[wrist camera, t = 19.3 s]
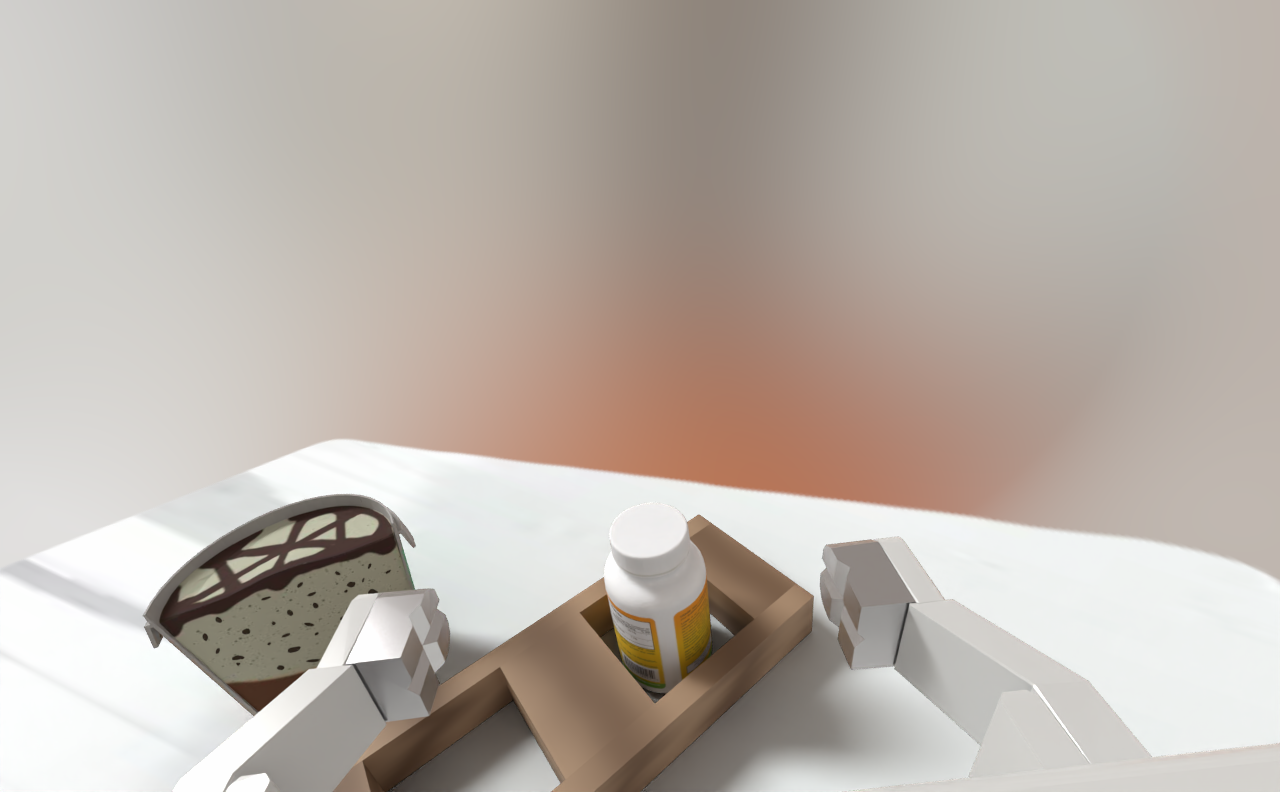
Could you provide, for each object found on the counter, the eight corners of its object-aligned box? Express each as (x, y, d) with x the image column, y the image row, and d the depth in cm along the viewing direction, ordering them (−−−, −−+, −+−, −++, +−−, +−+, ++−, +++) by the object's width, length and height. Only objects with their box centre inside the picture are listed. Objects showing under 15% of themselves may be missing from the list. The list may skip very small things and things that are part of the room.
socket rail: (340, 1072, 18) (304, 1049, 17) (303, 825, 25) (275, 793, 24) (811, 631, 31) (813, 596, 30) (701, 546, 38) (699, 514, 36)
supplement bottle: (701, 605, 33) (690, 485, 29) (723, 686, 29) (714, 558, 24) (617, 621, 33) (592, 502, 29) (625, 705, 28) (597, 579, 24)
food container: (443, 573, 39) (396, 463, 34) (456, 637, 34) (403, 519, 29) (251, 652, 34) (167, 539, 30) (233, 739, 29) (129, 620, 25)
